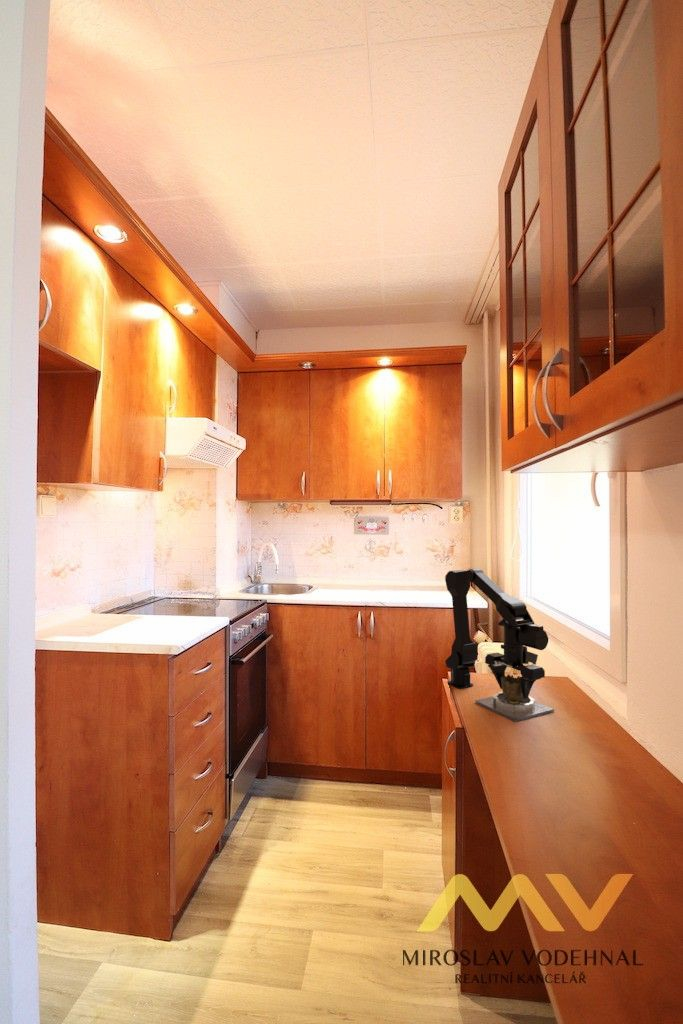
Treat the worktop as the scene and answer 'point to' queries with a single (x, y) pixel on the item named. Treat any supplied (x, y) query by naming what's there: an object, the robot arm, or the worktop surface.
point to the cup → (512, 689)
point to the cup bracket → (514, 707)
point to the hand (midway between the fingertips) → (513, 693)
